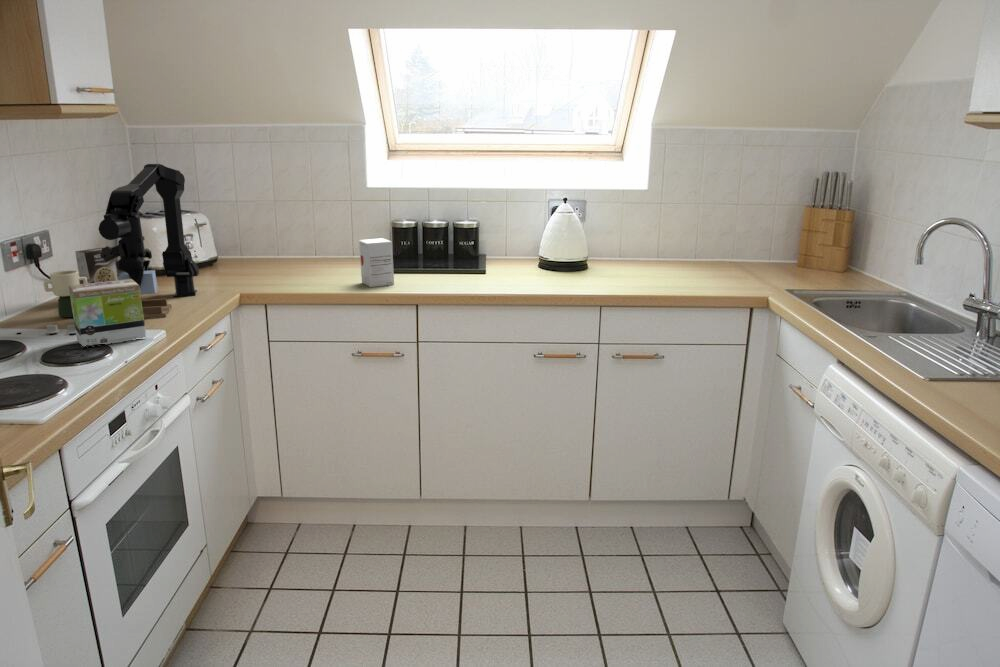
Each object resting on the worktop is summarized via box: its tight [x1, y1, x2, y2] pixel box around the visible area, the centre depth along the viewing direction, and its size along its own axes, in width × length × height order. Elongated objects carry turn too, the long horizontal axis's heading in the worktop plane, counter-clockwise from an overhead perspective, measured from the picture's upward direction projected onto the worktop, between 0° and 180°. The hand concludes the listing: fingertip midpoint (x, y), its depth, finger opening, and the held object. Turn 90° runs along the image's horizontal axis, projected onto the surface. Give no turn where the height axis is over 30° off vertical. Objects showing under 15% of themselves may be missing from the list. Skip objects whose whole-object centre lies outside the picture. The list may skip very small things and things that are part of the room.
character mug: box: [43, 270, 88, 318], centre depth 215 cm, size 11×7×13 cm, turn 118°
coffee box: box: [74, 247, 119, 284], centre depth 235 cm, size 9×6×16 cm
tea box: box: [69, 279, 147, 347], centre depth 190 cm, size 15×10×15 cm, turn 126°
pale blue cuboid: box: [117, 269, 159, 296], centre depth 215 cm, size 5×9×6 cm, turn 106°
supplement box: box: [358, 237, 395, 288], centre depth 253 cm, size 9×9×15 cm
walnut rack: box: [141, 298, 172, 320], centre depth 217 cm, size 12×14×3 cm
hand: (139, 288), depth 216 cm, fingers closed on pale blue cuboid, 5 cm apart
